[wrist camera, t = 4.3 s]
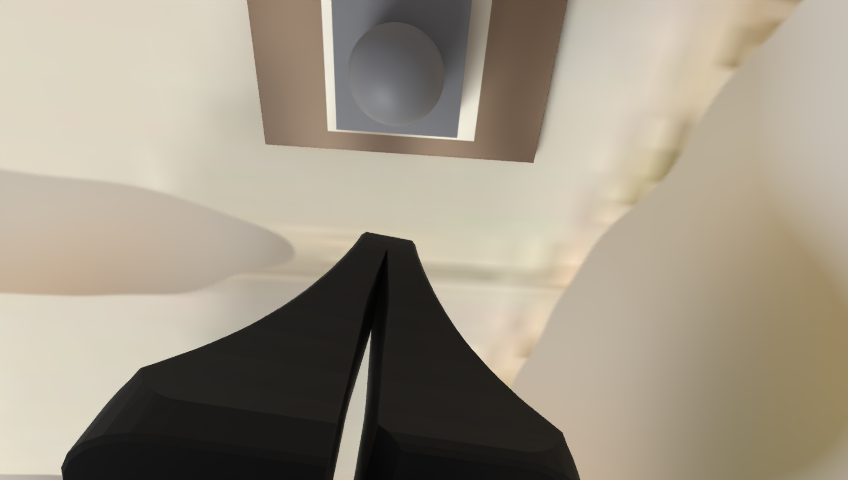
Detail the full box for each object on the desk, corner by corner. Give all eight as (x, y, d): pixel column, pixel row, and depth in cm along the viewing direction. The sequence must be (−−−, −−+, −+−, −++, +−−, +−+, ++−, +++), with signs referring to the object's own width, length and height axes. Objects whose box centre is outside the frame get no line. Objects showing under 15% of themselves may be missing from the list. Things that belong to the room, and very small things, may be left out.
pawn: (350, 109, 18) (318, 155, 13) (347, -12, 16) (307, -12, 11) (453, 116, 18) (461, 165, 13) (465, -3, 16) (481, 1, 11)
